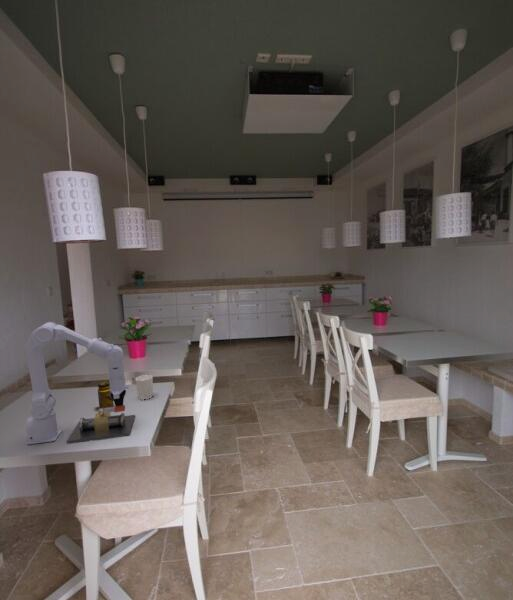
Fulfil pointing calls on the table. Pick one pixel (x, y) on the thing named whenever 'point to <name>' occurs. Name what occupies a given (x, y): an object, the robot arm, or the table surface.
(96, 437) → the valve body
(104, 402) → the condiment
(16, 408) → the table surface
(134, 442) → the table surface
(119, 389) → the robot arm
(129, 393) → the table surface
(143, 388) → the white cup
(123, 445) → the table surface
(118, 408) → the valve lever
